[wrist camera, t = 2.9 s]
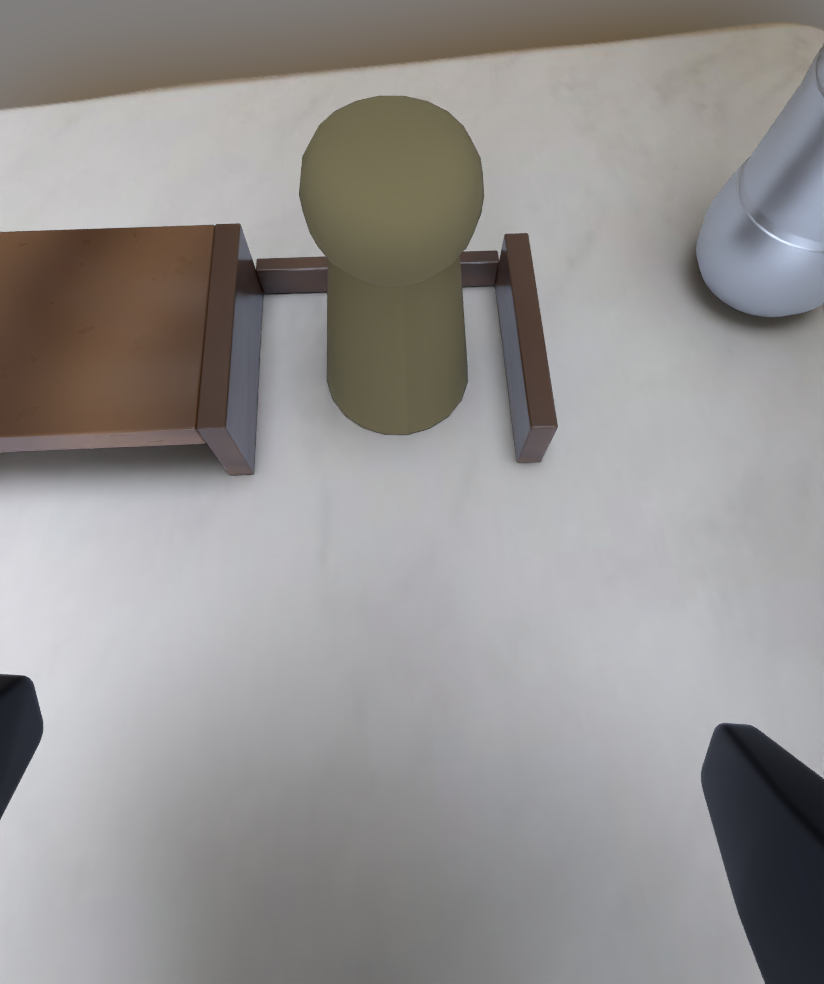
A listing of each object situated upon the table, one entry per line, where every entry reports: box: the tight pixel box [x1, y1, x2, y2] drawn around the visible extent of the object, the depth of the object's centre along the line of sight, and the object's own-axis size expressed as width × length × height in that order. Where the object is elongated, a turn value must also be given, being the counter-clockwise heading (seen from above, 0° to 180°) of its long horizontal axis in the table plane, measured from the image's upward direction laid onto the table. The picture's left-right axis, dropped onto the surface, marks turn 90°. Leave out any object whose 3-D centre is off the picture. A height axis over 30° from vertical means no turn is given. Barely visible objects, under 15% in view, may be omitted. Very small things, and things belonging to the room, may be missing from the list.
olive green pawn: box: [299, 96, 484, 434], centre depth 21 cm, size 6×6×11 cm
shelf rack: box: [0, 224, 558, 475], centre depth 24 cm, size 24×10×4 cm, turn 93°
